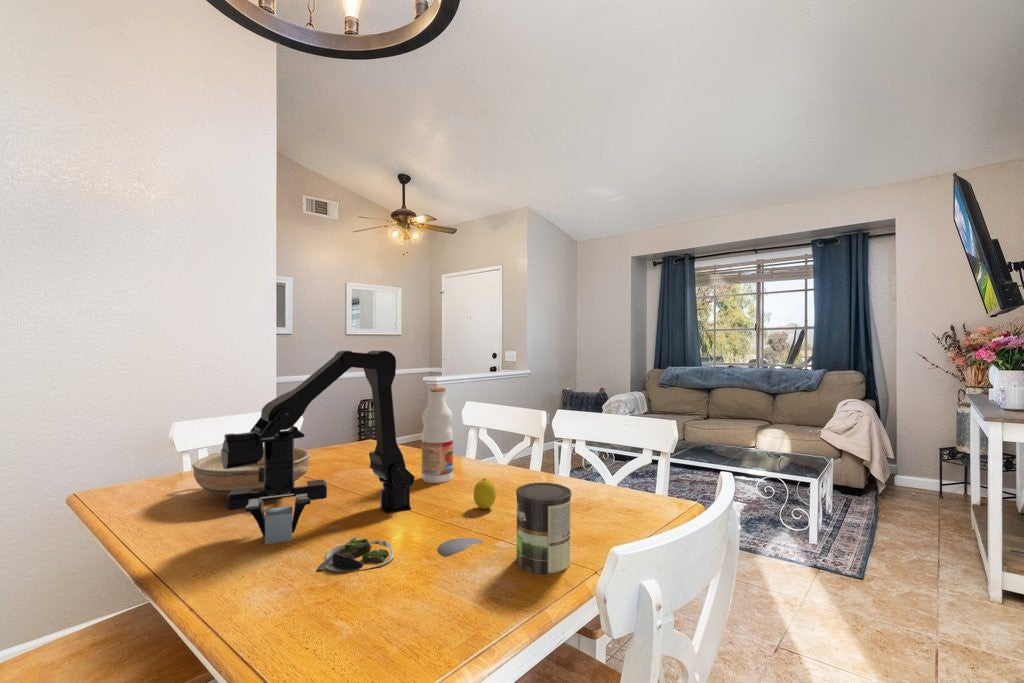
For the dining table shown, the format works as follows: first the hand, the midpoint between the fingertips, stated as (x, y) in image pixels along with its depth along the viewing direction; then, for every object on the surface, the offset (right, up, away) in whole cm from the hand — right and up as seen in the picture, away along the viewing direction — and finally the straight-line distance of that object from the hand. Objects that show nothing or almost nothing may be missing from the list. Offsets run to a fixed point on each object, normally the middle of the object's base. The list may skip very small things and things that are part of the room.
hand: (279, 534), depth 101 cm
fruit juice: (+27, -1, +44) cm, 52 cm away
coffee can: (+55, -1, -12) cm, 57 cm away
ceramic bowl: (-22, -1, +31) cm, 38 cm away
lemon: (+43, -1, +17) cm, 46 cm away
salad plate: (+19, -2, -8) cm, 21 cm away
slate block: (0, -1, 0) cm, 1 cm away
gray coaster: (+39, -1, -6) cm, 40 cm away
